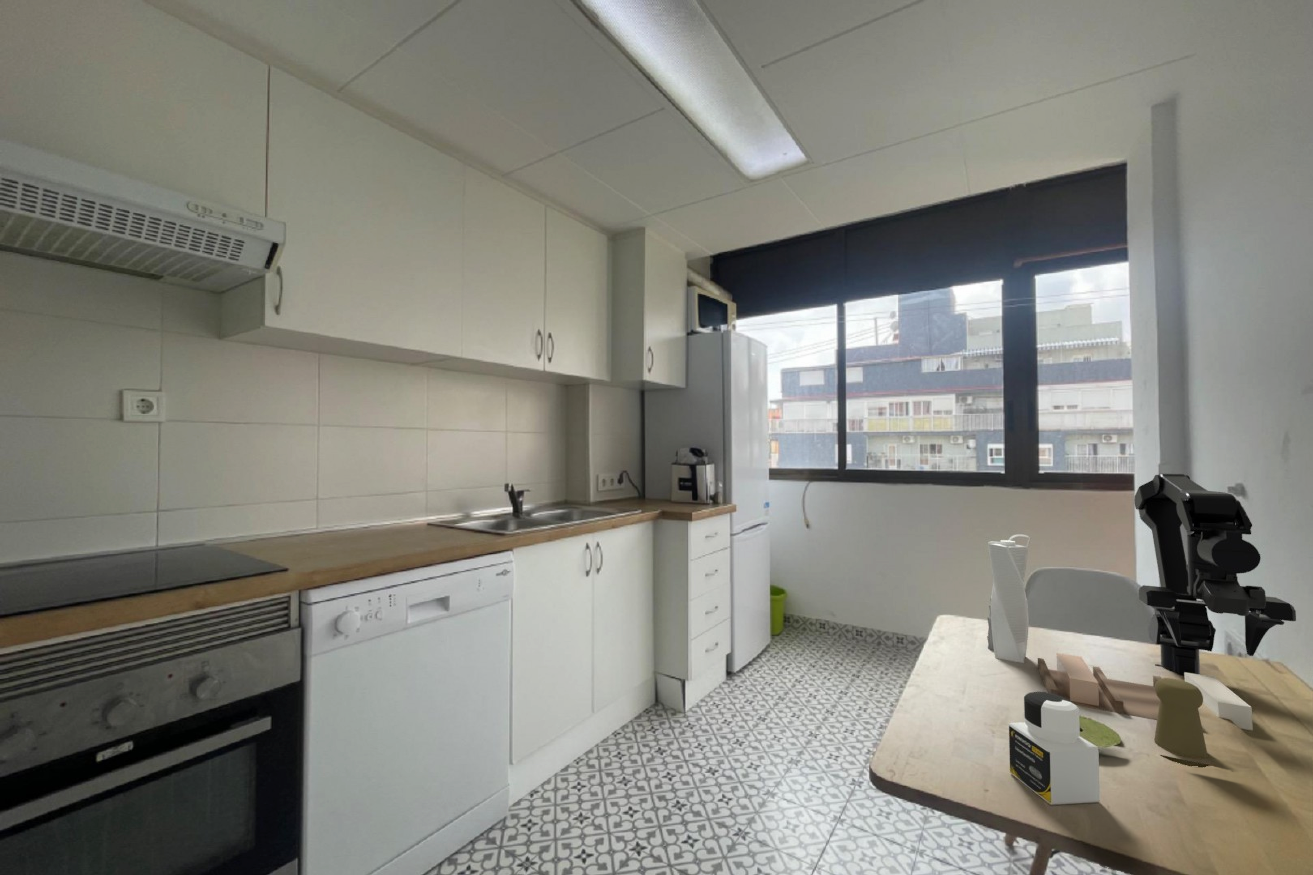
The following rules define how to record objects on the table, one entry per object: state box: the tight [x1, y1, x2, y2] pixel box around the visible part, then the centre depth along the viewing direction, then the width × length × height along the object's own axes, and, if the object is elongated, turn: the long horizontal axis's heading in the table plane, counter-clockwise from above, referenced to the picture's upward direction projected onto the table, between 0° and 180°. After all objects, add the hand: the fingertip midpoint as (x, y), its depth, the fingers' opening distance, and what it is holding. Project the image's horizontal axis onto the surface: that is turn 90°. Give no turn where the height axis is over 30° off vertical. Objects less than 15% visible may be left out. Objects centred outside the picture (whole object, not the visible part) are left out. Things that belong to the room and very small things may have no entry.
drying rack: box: [1037, 657, 1162, 721], centre depth 98 cm, size 17×19×3 cm
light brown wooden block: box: [1056, 652, 1099, 706], centre depth 100 cm, size 14×4×4 cm, turn 151°
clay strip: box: [1183, 672, 1254, 731], centre depth 94 cm, size 14×4×4 cm, turn 152°
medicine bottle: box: [1008, 691, 1101, 806], centre depth 72 cm, size 7×7×12 cm
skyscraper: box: [986, 534, 1031, 664], centre depth 116 cm, size 8×8×28 cm
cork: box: [1153, 677, 1210, 768], centre depth 80 cm, size 6×6×11 cm
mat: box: [1079, 714, 1122, 748], centre depth 84 cm, size 11×11×2 cm
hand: (1213, 650), depth 94 cm, fingers open, 9 cm apart
